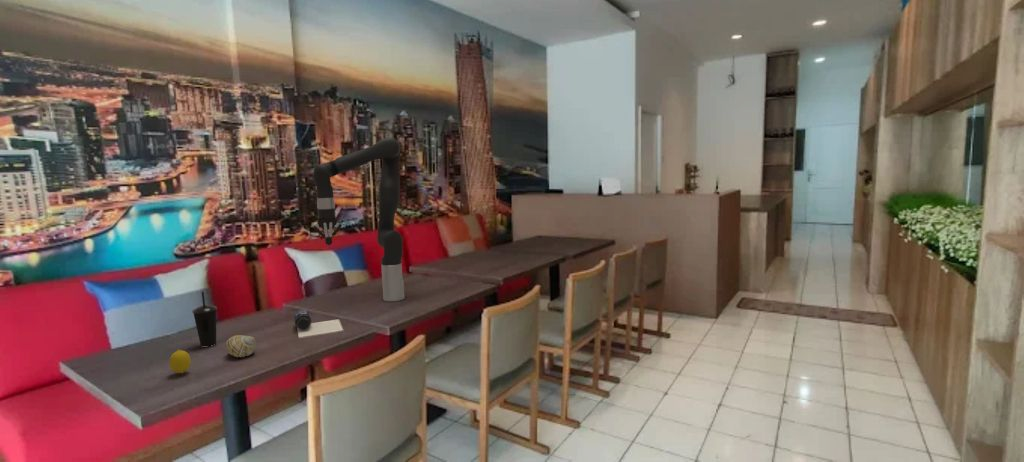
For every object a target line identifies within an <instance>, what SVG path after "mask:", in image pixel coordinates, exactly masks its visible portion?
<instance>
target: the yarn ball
mask: <svg viewBox="0 0 1024 462" xmlns="http://www.w3.org/2000/svg"><path fill="white" fill-rule="evenodd" d="M225 348H226V351H227V352H228V353H229V355H231V356H233V357H235V358H238V357H240V358H241V357H242V358H246V357H245V356H247V357H248V356H250V355H252V354H253V353H254V351H255V349H256V339H255V337H253V336H250V335H243V334H236V335H233V336H231V337H230V338H228V340H226V343H225Z"/></svg>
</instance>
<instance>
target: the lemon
mask: <svg viewBox="0 0 1024 462" xmlns="http://www.w3.org/2000/svg"><path fill="white" fill-rule="evenodd" d="M169 358H170V359H169V366H170V369H171V371H173V372H174V373H177V374H180V373H182V372H184V373H185V372H186V371H188V369H189V368H190V366H191V362H192V359H191V356H190V355H189V353H188V352H187V351H185V350H182V349H177V350H176V351H175V352H173V353H172V354H171V356H170V357H169Z"/></svg>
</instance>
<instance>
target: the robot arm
mask: <svg viewBox="0 0 1024 462" xmlns="http://www.w3.org/2000/svg"><path fill="white" fill-rule="evenodd" d="M400 156H401V144H400V142H399V141H398V140H397V139H396V138H394V137H390V136H388V137H384V138H383V139H381V140H379V141H377V142H375V143H374V144H373V145H370V146H367V147H365V148H362V149H361V150H357V151H354V152H350V153H347V154H345V155H342V156H340V157H339V156H338V157H337V158H334V159H333V160H330V161H328V162H324V163H318V164H317V165H314V169H313V178H314V184H315V187H316V200H317V201H316V204H317V206H316V208H317V222H316V224H315V225H313V226H312V228H313V229H314V230H315V231H316V232H317V233H318V234H319V236H321V237H324V241H325V244H326V246H332V244H333V237H334V236H336V235H337V234H338V232H339V231H340V229H341V228H342V227H343V225H342V223H339V222H338V220H337V217H336V215H337V214H336V205H335V204H336V203H335V198H334V188H333V185H332V183H331V182H332V181H331V178H332V177H335V176H338V175H340V174H343V173H346V172H349V171H352V170H355V169H357V168H359V167H361V166H363V165H365V164H368V163H371V162H373V161H375V160H380V159H382V167H381V168H382V170H381V175H380V181H379V186H378V187H379V188H378V189H379V191H378V199H379V200H378V204H379V206H378V208H379V209H378V212H379V215H378V228H377V236H376V238H377V239H376V240H377V243H378V245H379V246H380V247H381V248H383V256H382V257H381V258H380V264H381V267H380V268H381V279H382V297H383V301H384V302H388V303H389V302H399V301H401V300H405V284H404V283H405V282H404V278H403V267H402V259H403V255H404V253H403V249H404V248H403V243H404V241H403V237H402V234H401V233H400V232H399V231H397V230H395V217H396V213H397V210H398V207H399V204H400V198H401V197H400V196H401V194H400V192H401V191H400V189H401V187H400V184H401V183H400V174H399V173H400V172H399V166H400V158H401V157H400ZM335 227H336V228H335ZM320 228H321V230H323V232H322V231H321V230H320ZM334 228H335V229H334ZM333 229H334V231H333Z"/></svg>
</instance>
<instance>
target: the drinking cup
mask: <svg viewBox="0 0 1024 462" xmlns="http://www.w3.org/2000/svg"><path fill="white" fill-rule="evenodd" d="M201 297H202V305H200V306H198V307H196V308H195V309H193V310H191V312H192V314H193V317H194V318H193V319H194V321H195V326H196V331H197V335H198V339H199V344H200V347H201V346H211V345H214V344H216V345H217V310H218V307H217V306H215V305H210V304H206V300H205V292H204V291H201ZM214 346H215V345H214Z"/></svg>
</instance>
